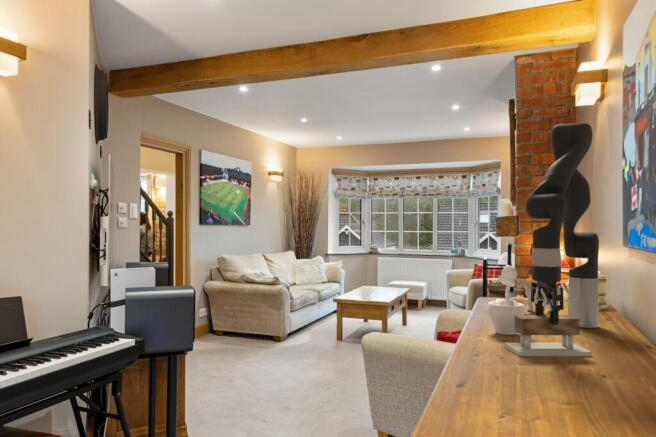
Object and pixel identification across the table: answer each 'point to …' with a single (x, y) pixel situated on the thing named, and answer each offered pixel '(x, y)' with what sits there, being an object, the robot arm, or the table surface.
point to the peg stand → (547, 348)
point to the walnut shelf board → (546, 325)
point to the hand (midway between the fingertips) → (546, 321)
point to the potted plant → (505, 305)
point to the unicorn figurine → (527, 292)
